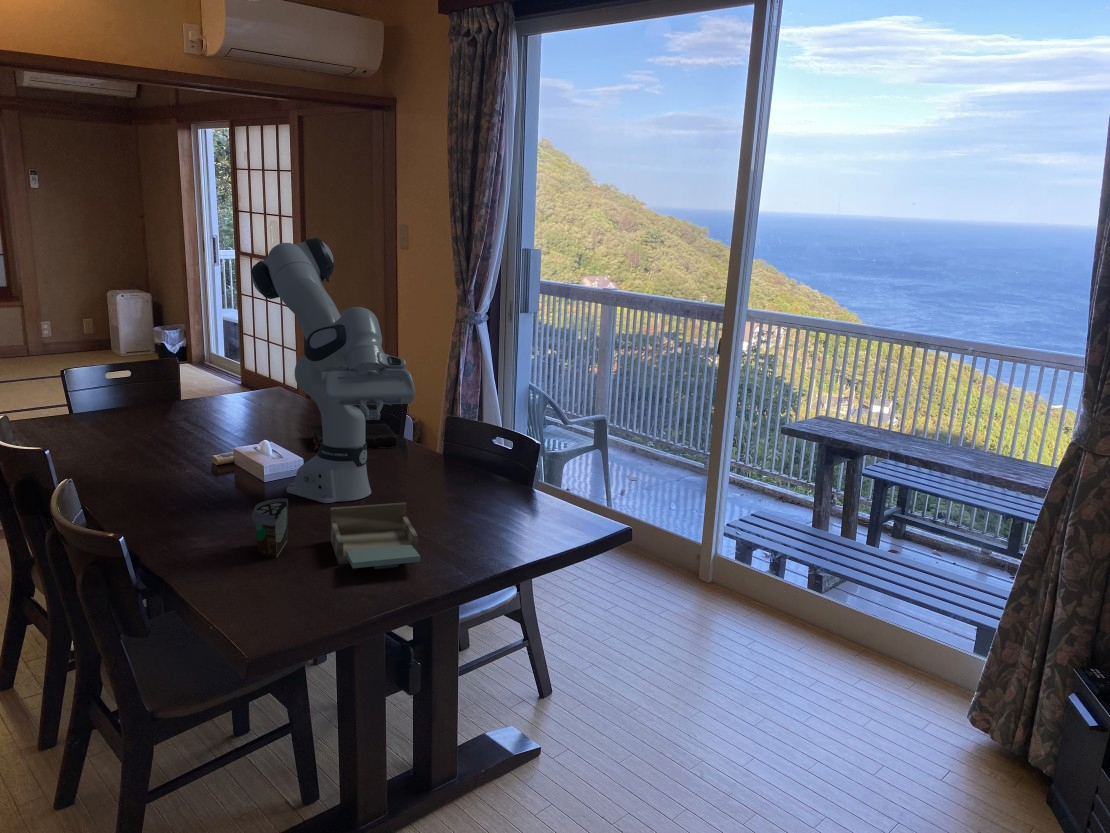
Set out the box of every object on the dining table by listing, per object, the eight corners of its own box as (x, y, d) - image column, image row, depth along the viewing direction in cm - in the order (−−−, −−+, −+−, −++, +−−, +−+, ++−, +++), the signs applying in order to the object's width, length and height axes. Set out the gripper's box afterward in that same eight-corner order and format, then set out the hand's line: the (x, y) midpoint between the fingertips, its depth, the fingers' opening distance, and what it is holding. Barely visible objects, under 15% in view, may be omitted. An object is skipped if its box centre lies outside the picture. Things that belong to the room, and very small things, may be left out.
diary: (397, 450, 262) (397, 435, 261) (318, 455, 252) (318, 439, 251) (384, 435, 279) (384, 421, 277) (310, 439, 268) (310, 424, 267)
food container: (261, 538, 183) (260, 496, 181) (288, 538, 183) (288, 497, 181) (245, 560, 171) (244, 516, 169) (275, 560, 171) (274, 516, 169)
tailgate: (346, 550, 171) (352, 562, 162) (411, 544, 176) (420, 556, 168) (346, 559, 171) (352, 572, 163) (411, 553, 177) (420, 565, 168)
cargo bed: (330, 540, 184) (330, 507, 182) (404, 534, 190) (405, 502, 189) (338, 564, 171) (338, 529, 170) (417, 556, 178) (418, 523, 176)
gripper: (321, 360, 178) (326, 412, 171) (412, 359, 185) (420, 409, 179) (319, 376, 183) (324, 427, 176) (407, 374, 190) (415, 424, 184)
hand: (373, 418), depth 178 cm, fingers closed
